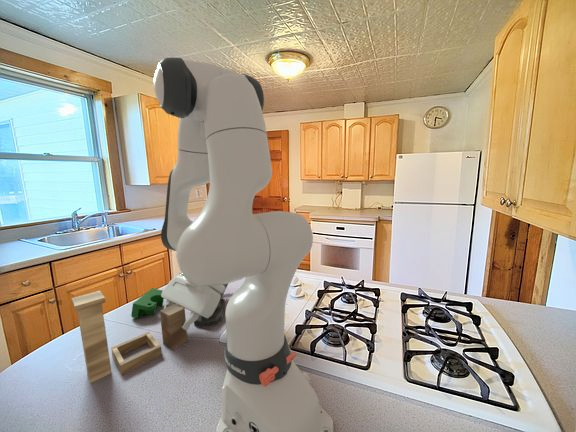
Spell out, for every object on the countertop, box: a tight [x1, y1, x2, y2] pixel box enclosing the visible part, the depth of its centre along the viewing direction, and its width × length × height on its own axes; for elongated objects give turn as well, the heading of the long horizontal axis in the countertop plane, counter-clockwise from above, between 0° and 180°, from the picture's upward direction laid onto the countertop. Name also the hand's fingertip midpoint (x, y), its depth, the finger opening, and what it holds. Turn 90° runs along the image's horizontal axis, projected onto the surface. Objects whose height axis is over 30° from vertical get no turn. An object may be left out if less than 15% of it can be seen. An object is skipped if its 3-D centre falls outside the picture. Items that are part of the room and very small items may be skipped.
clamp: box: [130, 287, 164, 319], centre depth 86 cm, size 12×6×9 cm, turn 173°
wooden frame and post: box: [71, 290, 163, 384], centre depth 61 cm, size 9×15×19 cm, turn 137°
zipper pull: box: [193, 283, 229, 328], centre depth 88 cm, size 9×7×25 cm
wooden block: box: [159, 304, 188, 351], centre depth 69 cm, size 4×4×10 cm
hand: (173, 323), depth 69 cm, fingers open, 8 cm apart
